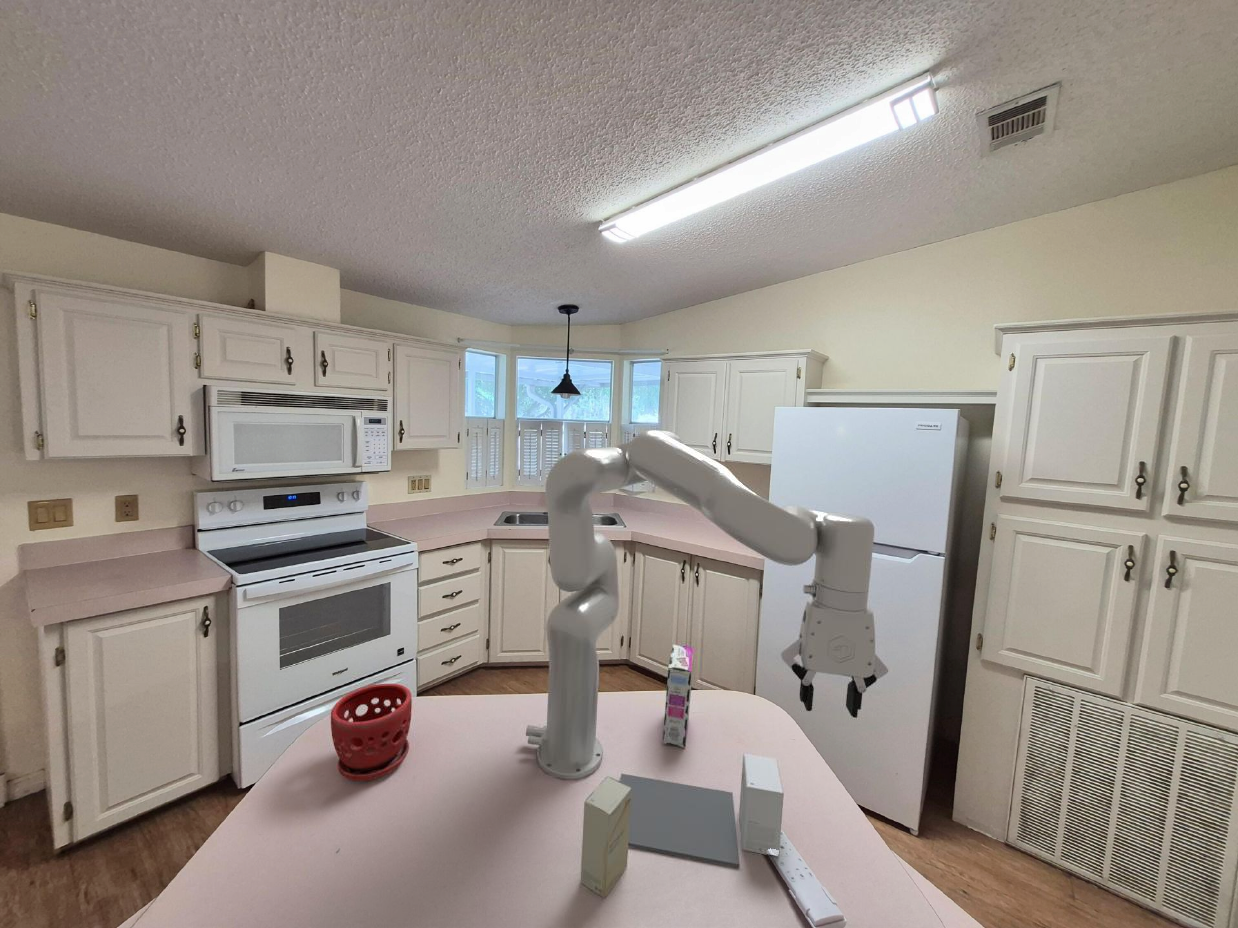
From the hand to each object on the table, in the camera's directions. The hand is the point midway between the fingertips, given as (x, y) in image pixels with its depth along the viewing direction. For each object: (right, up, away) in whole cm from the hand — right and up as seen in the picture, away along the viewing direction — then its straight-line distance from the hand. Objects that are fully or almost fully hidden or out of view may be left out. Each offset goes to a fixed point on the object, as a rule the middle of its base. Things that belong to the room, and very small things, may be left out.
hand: (829, 707), depth 73 cm
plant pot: (-78, -18, +14) cm, 81 cm away
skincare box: (-35, -21, -5) cm, 41 cm away
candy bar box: (-20, -19, +28) cm, 40 cm away
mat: (-23, -21, +5) cm, 32 cm away
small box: (-10, -22, +3) cm, 25 cm away
